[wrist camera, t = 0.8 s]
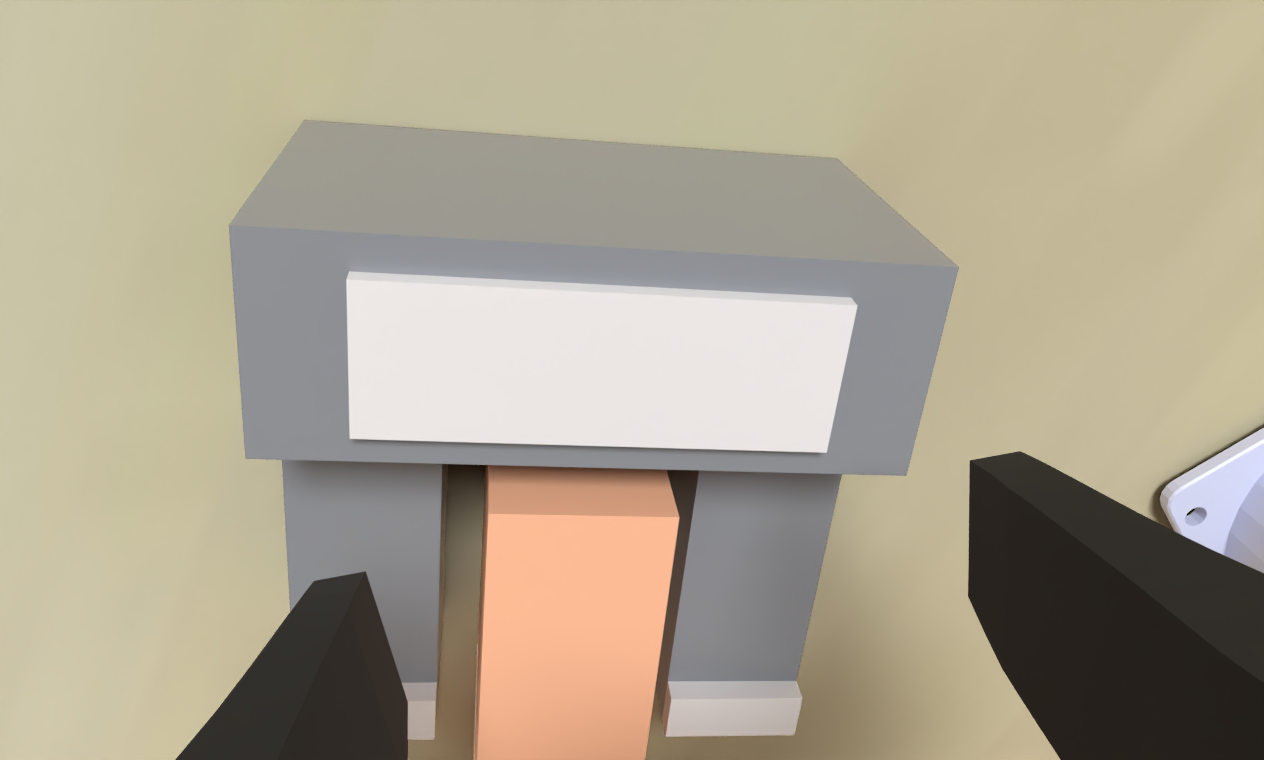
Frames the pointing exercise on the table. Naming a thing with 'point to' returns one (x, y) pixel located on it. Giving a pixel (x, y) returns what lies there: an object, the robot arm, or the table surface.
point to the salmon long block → (571, 611)
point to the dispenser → (582, 369)
